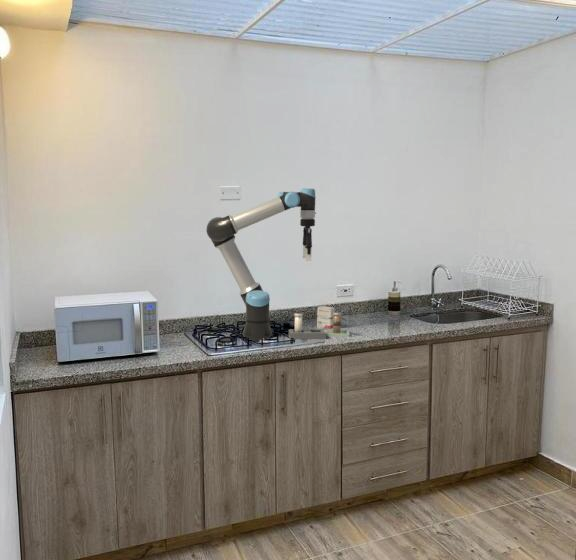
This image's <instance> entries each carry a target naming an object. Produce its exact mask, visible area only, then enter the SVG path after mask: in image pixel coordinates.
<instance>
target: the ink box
mask: <svg viewBox="0 0 576 560" xmlns="http://www.w3.org/2000/svg"><path fill="white" fill-rule="evenodd" d="M335 309H336V308H335V307H331V306H324V305H319V306H317V310H316V311H317V315H316V319H317V320H316V329H333V318H334V315H333V312H336V310H335Z"/></svg>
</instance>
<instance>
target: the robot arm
mask: <svg viewBox="0 0 576 560" xmlns="http://www.w3.org/2000/svg"><path fill="white" fill-rule="evenodd" d="M299 207H300V211H299V212H300V216H299V217H300V218H301V219H300V226H301V227H303V230H302V231H303V235H302V259H305V262H306V261H307V262H311V261H312V248H313V239H312V237H313V236H312V233H313V232H312V231H313V229H312V228H311V227H314V226H315V225H316V219H315V218H316V215H317V211H316V190H315V188H301V189H300V191H299V192H297V191H279V192H278V193H277V197H274V198H272V199H271V200H267V201H265V202H262V203H260V204H258V205H256V206H254V207H251V208H249V209H247V210H243V211H241V212H239V213H236V214H234V215H231V214H230V215H229V214H228V215H227V216H224V217H220V216H216V217H213V218H211V219H210V220H209V221H208V223H207V224H206V234H207V236H208V238H209V239H210V240H211V242H212V244H213V246H214V247H215V248H216V249H218V250H219V251H220V253H221V254H222V257H223V259H224V260H225V262H226V264H227V266H228V268H229V271H230V272H231V274H232V276H233V278H234V279H235V281H236V284H237V285H238V287H239V295H240V297H241V299H242V301H243V303H244V305H245V324H244V328H243V331H242V335H243V336H244V337H247V338H249V339H251V340H252V341H251V342H260V341H263V340H262V338H264V339H265V340H268V339H267V338H270V337H271V336H272V337H273V332H272V328H271V325H270V301H271V300H270V299H271V298H270V294H269V293H268V292H267V291H264V290H263V288H262V286H261V284H260V283H259V282H256V281H255V278H254V277H253V275H252V273H251V271H250V270H249V267H248V265H247V264H246V261H245V259H244V258H243V255H242V254H241V251H240V249H239V248H238V245H237V244H236V242H235V239H236V236H235V235H236V234H238V232H239V231H240V230H242V229H245V228H247V227H250V226H253V225H254V224H257V223H259V222H261V221H265V220H266V219H269V218H271V217H273V216H276V215H278V214H280V213H283V212H285V211H288V210H290V209H292V208H293V209H294V208H299ZM242 335H241V336H242ZM270 339H271V338H270Z"/></svg>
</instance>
